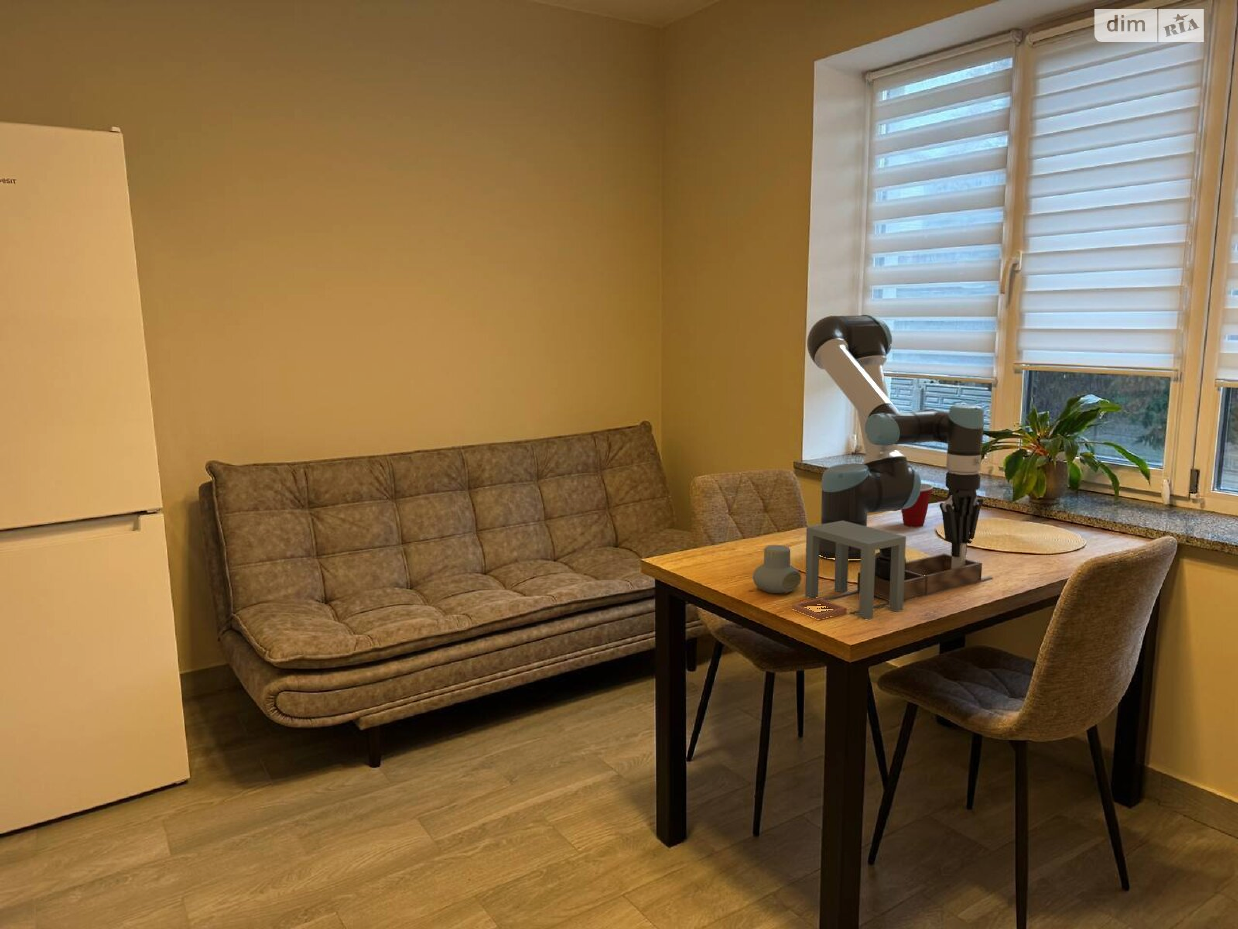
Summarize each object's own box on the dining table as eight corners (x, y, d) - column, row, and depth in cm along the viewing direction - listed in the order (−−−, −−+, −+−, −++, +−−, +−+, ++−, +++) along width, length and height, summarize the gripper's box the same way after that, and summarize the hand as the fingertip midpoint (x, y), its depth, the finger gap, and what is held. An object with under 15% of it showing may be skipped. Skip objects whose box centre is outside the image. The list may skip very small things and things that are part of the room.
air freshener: (776, 581, 206) (777, 540, 204) (805, 589, 200) (806, 546, 198) (747, 591, 198) (747, 549, 197) (776, 599, 192) (777, 556, 191)
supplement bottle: (904, 600, 190) (906, 547, 188) (871, 597, 193) (873, 545, 191) (904, 591, 197) (906, 539, 195) (873, 588, 199) (875, 537, 197)
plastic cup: (890, 520, 265) (892, 481, 263) (927, 520, 264) (929, 482, 262) (897, 528, 255) (898, 488, 253) (935, 529, 253) (937, 489, 251)
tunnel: (942, 564, 217) (945, 502, 215) (1006, 582, 202) (1010, 515, 199) (805, 596, 194) (806, 527, 191) (866, 619, 179) (868, 544, 176)
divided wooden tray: (943, 569, 212) (944, 553, 211) (981, 579, 203) (982, 563, 202) (857, 589, 197) (857, 572, 196) (893, 602, 188) (894, 584, 187)
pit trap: (791, 609, 185) (791, 604, 185) (819, 603, 189) (819, 597, 189) (818, 620, 179) (818, 615, 178) (846, 613, 183) (846, 607, 182)
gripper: (958, 476, 196) (953, 577, 200) (995, 471, 203) (989, 569, 206) (931, 472, 203) (926, 569, 206) (967, 467, 209) (962, 561, 213)
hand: (958, 569), depth 206 cm, fingers closed
